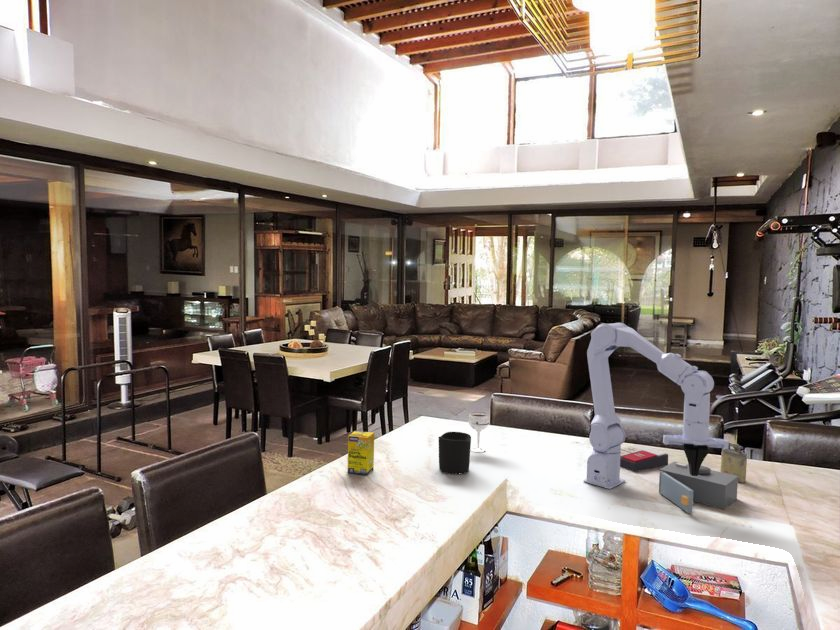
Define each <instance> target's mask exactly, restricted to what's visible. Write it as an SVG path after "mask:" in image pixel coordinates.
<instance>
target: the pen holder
mask: <svg viewBox="0 0 840 630" xmlns="http://www.w3.org/2000/svg"><path fill="white" fill-rule="evenodd" d="M471 443H472V436H471V434H470V433H466V432H461V431H446V432H445V433H443V434H442V435H440V436H438V467H439V471H441V472H442V473H444V472H445V474H448V473H450V475H460V474H459V473H463V474H465V473H464V472H466V473H467V472H468V471H469V469H470V463H471V462H470V460H471Z"/></svg>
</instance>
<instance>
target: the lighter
mask: <svg viewBox="0 0 840 630" xmlns="http://www.w3.org/2000/svg"><path fill="white" fill-rule="evenodd" d="M731 447H732V448H731ZM743 449H744V446H742V445H739V443H731V442H729V444H728V449H723V448H721V453H720V454H721V455H720V456H721V457H720V471H719V472H722V473H727V474H731V475H736V476H738V483H744V484H745V483H746V482H747V464H748V463H747V462H748V461H747V460H748V456H747V453H746V452H744V451H742V450H743Z"/></svg>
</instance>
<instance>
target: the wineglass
mask: <svg viewBox="0 0 840 630" xmlns="http://www.w3.org/2000/svg"><path fill="white" fill-rule="evenodd" d="M468 416H469V418H468V425H469V426H470V427H471V428H472V429H473V430H475V431H476V432H477V433H476V435H477V436H476V437H477V448H476V447H475V448H473V449H474V450H476V451H480V450H482V449H483V448H480V434H481V432H482V431H483V430H485V429H486V428H487V427H488V426H489V425H490V418H489V417H490V413H487V412H484V411H483V412H482V411H473V412H472V411H471V412H469V413H468Z"/></svg>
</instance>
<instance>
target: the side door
mask: <svg viewBox="0 0 840 630" xmlns="http://www.w3.org/2000/svg"><path fill="white" fill-rule="evenodd" d="M658 482H659V483H658V493H659V494H661V495H662V496H663V497H665V498H666V499H668V500H669V501H670V502H672V503H673V504H675V505H676V506H678V507H679V508H680V509H682V510H683V511H684V512H686V513H688V514H693V511H694V510H693V508H694V501H693V490H692V489H690V488H688V487H687V486H685V485H684V484H682V483H681V482H679V481H677V480H676V479H674V478H673V477H671V476H670V475H668V474H666V473H665V472H663V471H660V470H659V481H658Z"/></svg>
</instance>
